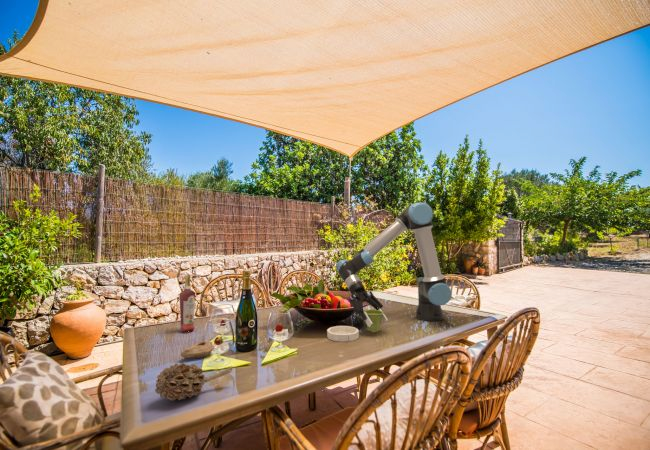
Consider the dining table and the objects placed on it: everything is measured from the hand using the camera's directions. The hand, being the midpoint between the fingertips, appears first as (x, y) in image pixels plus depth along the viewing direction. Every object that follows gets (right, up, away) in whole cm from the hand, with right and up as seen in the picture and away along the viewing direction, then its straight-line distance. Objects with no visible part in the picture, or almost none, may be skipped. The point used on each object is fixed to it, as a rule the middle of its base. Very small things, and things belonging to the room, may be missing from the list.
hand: (378, 323), depth 148 cm
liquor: (-94, -7, +9) cm, 95 cm away
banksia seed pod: (-63, -4, -55) cm, 84 cm away
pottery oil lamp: (-75, -6, -25) cm, 79 cm away
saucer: (-17, -6, -2) cm, 18 cm away
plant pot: (-2, -4, +2) cm, 5 cm away
